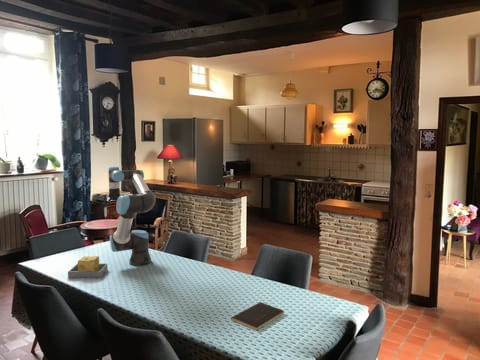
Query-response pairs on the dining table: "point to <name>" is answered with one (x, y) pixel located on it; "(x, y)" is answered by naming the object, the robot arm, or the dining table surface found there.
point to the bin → (87, 272)
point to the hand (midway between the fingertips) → (115, 216)
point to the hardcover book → (257, 315)
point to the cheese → (88, 263)
